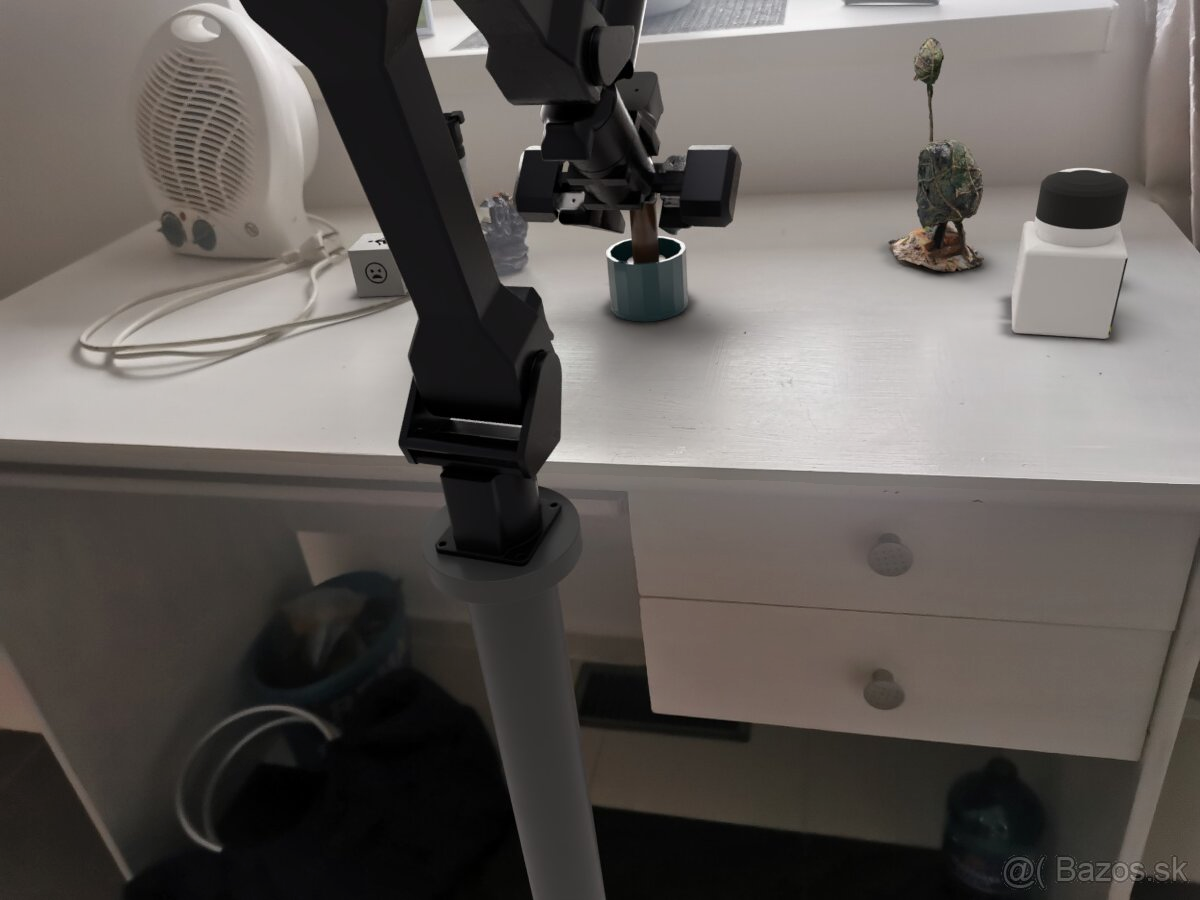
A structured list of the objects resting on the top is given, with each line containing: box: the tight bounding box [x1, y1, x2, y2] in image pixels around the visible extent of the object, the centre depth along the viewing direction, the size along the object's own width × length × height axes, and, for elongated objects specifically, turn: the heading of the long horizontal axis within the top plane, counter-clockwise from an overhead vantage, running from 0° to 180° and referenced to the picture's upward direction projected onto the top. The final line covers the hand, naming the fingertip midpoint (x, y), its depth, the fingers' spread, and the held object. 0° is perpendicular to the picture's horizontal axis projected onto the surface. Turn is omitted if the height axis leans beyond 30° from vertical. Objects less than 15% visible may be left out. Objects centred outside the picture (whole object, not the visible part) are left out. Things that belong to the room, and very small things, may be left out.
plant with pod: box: [887, 36, 985, 273], centre depth 83 cm, size 8×11×20 cm
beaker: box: [605, 235, 689, 323], centre depth 84 cm, size 7×7×6 cm
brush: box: [627, 202, 666, 263], centre depth 82 cm, size 4×4×11 cm
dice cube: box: [347, 232, 408, 298], centre depth 94 cm, size 5×5×5 cm
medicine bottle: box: [1011, 167, 1130, 340], centre depth 72 cm, size 7×7×12 cm
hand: (649, 229), depth 83 cm, fingers open, 5 cm apart
